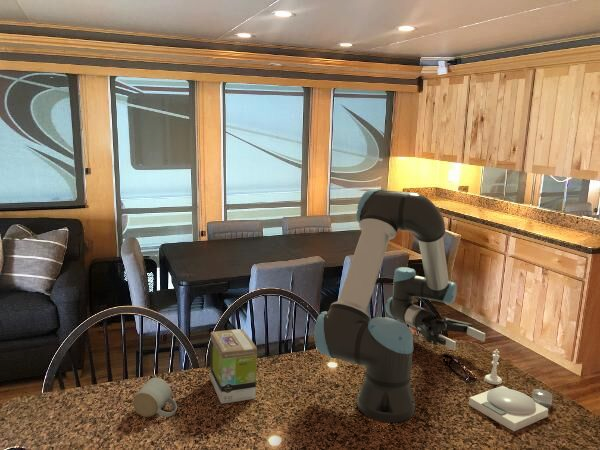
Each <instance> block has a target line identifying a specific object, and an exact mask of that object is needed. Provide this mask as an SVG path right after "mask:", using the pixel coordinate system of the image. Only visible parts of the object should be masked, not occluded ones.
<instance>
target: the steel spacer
mask: <svg viewBox="0 0 600 450" xmlns="http://www.w3.org/2000/svg"><path fill="white" fill-rule="evenodd" d="M531 398H532V399H533V400H534V402H536V403H538V404H540V405H542V406H544V407H545V408H547V409H550V408H551V407H552V403H553V394H552V393H551V392H550V391H548V390H546V389H542V388H535V389H533V390H532V394H531Z"/></svg>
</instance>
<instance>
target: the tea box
mask: <svg viewBox="0 0 600 450" xmlns="http://www.w3.org/2000/svg"><path fill="white" fill-rule="evenodd" d="M209 342H210V348H209V349H210V353H209V354H210V355H209V379H210V382H211V384H212V386H213V388H214V390H215V392H216V395H217V398H218V400H219V402H220V404H230V403H235V402H243V401H248V400H254V399H256V393H257V371H258V370H257V369H258V367H257V366H258V365H257V363H258V348H257V346H256V344H255V343H254V342H253V340H252V338H250V337H249V335H248V334H247V332H246V331H245V330H244V328H239V329H238V328H237V329H229V330H218V331H211V332H210V341H209Z"/></svg>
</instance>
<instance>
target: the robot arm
mask: <svg viewBox="0 0 600 450" xmlns="http://www.w3.org/2000/svg"><path fill="white" fill-rule="evenodd" d="M356 207H357V208H356V209H357V210H356V220H357V223H358V226H359V229H360V230H361V233H360V236H359V238H358V242H357V244H356V247H355V250H354V253H353V255H352V259H351V262H350V265H349V267H348V271H347V274H346V276H345V278H344V279H345V280H344V282H343V284H342V285H343V286H342V287H341V291H340V294H339V297H338V300H337V301H334V302H332V303H331V304H330V306H329V310H328V311H326V310H325V311H321V312H320V313H319V314H318V316H317V319H316V321H315V326H314V334H313V335H314V336H313V337H314V338H313V339H314V344H315V347H316V349H317V351H318V353H320V354H321V355H325V356H327V357H330V358H331V359H337V360H341V361H345V362H348V363H352V364H356V365H359V366H362V367H365V376H364V380H363V382H362V384H361V388H360V389H359V391H358V393H357V401H356V405H357V408H358V410H359V411H360V412H361V413H362V414H363V415H365V416H366V417H368V418H370V419H372V420H375V421H378V422H383V423H401V422H405V421H408V420H409V419H411V418H412V417H413V416H414V414H415V411H416V400H415V397H414V394H413V390H412V386H411V373H412V361H413V352H414V334H413V331H412V330H411V328H410V327H409V326H411V327H412V328H413V329H416V330H417V332H418V333H420V335H422V337H423V338H424V339H425V341H426V342H427V343H429V344H431V343H432V344H433V345H435V346H436V345H438V344H440V345H441V346H444V347H445V348H448V349H450V350H451V351H456V348H457V341H455V340H453V339H451V338H449V337H446V336H445V335H442V334H441V333H440V334H438V333H439V332H447V333H448V332H449V331H450V332H457V333H465V334H466V335H467V336H469V337H472V338H474V339H477V340H478V341H480V342H485V341H486V333H485V332H482V331H480V330H478V329H477V328H474V327H473V323H470V322H467V321H466V322H465V321H461V320H456V319H453V318H452V319H451V318H449V317H445V316H444V317H443V319H441V318H438V317H437V316H436V314H435V313H434V312H432V311H431V310H427V309H425V308H424V307H421V306H419V305H417V304H415V303H414V299H415V298H419V299H425V300H430V301H435V302H440V303H445V304H453V303H454V302H455V300H456V297H457V292H458V285H457V283H456V282H455V281H454V282H453V281H450V280H449V274H448V273H449V272H448V265H447V257H446V250H445V244H444V236H445V233H446V224H445V221H444V218H443V215H442V214H441V212H440V210H439V209H438V207H437V206H436V205H435V203H434V202H432V201H431V200H430V199H429V198H428V197H426V196H424V195H423V194H420V193H418V192H412V191H411V192H408V191H395V190H387V189H384V188H383V189H382V188H378V189H375V188H372V189H368V190H366V191H365V192H364V193H363V194H362V195H361V197H360V199H359V201H358V204H357V206H356ZM398 231H409V232H412V233H413V236H414V238H415V239H416V240H417V242H418V247H419V252H420V256H421V261H422V262H421V263H422V267H423V272H424V276H420V275H417V274H416V272H417V271H416V270H415V269H414V268H410V267H405V266H404V267H403V266H401V267H398V268H396V269H395V270H394V274H393V280H392V281H393V286H392V296H391V297H389V298H388V299H387V301H386V303H385V305H384V307H385V312H386V313H387V314H388V315H389V316H390V317H386V316H385V317H382V316H377V317H372V318H371V317H370V314H369V312H368V308H369V305H370V302H371V299H372V296H373V292H374V290H375V285H376V283H377V280H378V276H379V274H380V271H381V270H380V269H381V267H382V264H383V262H384V261H383V260H384V257H385V255H386V252H387V249H388V245H389V242H390V240H392V239H395V238H396V237H397V234H398ZM391 317H392V318H391Z"/></svg>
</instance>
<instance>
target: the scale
mask: <svg viewBox="0 0 600 450" xmlns="http://www.w3.org/2000/svg"><path fill="white" fill-rule="evenodd" d="M468 399H469V400H468V406H470V407H472V408H473V409H474V410H476V411H477V412H480V413H482V414H483V415H485V416H487V417H488V418H491V419H492V420H494V421H495V422H497V423H498V424H501V425H502V426H504V428H507V429H508V430H511V431H512V432H517V431H519V430H520V429H523V428H525V427H527V426H529V425H532V424H534V423H537V422H538V421H541V420H542V419H545V418H548V414H549V408H545V407H544V406H542V405H540V404H538V403H536V402H534V400H533V399H532V397H530V396H529V395H527V394H526V393H524V392H520V391H518V390H515V389H512V388H511V389H510V388H508V387H506V386H504V385H500V386H498V387H495V388H492V389H489V390H487V391H484V392H480V393H478V394H476V395H472V396H470V397H469V398H468Z"/></svg>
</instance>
